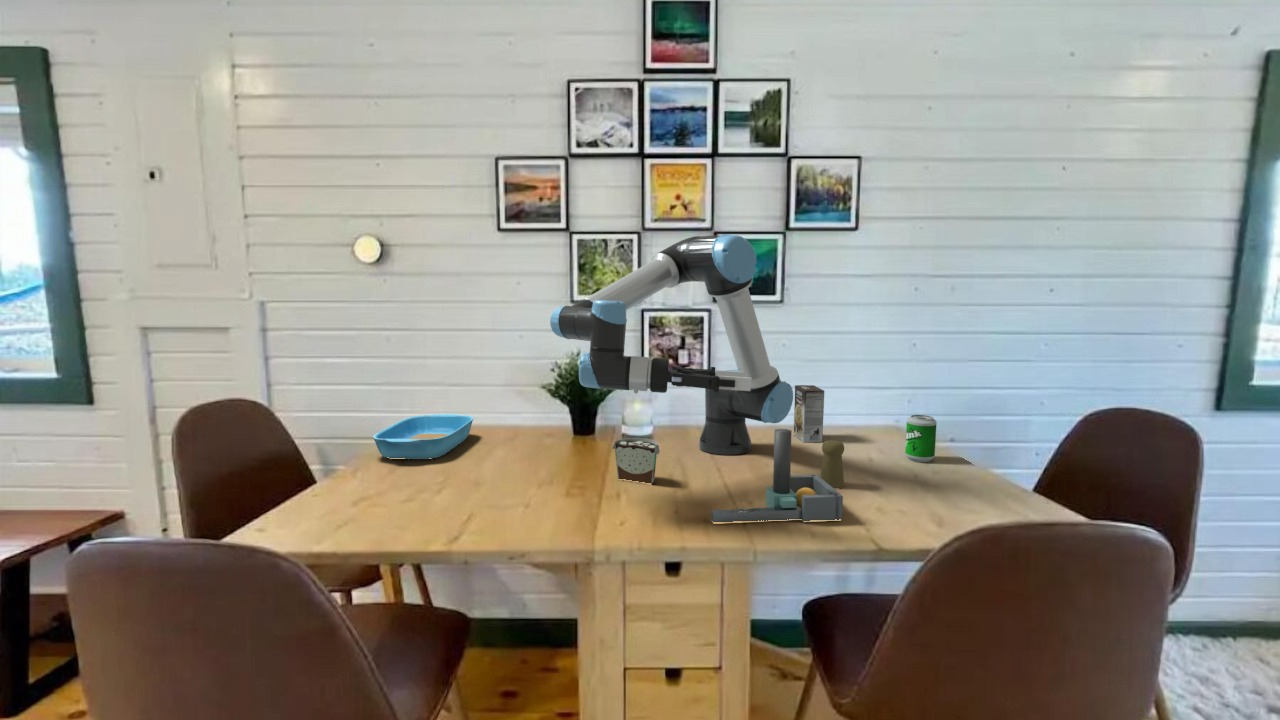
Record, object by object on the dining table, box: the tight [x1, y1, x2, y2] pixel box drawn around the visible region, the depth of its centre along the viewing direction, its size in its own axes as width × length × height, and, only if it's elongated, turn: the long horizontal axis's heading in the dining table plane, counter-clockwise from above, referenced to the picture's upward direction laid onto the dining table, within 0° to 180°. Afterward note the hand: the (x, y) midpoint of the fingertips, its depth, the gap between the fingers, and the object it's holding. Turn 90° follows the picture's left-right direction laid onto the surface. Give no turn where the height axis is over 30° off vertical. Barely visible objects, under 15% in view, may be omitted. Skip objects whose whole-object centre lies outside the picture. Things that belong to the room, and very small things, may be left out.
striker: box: [765, 428, 798, 508], centre depth 147 cm, size 5×8×18 cm, turn 6°
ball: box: [796, 487, 817, 509], centre depth 150 cm, size 5×5×5 cm
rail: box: [710, 506, 802, 522], centre depth 143 cm, size 19×2×2 cm, turn 96°
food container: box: [612, 437, 661, 485], centre depth 171 cm, size 12×6×10 cm, turn 65°
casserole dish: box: [372, 413, 474, 460], centre depth 203 cm, size 37×22×7 cm, turn 176°
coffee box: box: [793, 384, 825, 443], centre depth 210 cm, size 9×6×16 cm
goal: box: [790, 474, 844, 521], centre depth 150 cm, size 8×15×6 cm, turn 6°
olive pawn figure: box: [819, 439, 845, 489], centre depth 166 cm, size 6×6×11 cm
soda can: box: [904, 414, 938, 463], centre depth 187 cm, size 8×8×12 cm
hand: (747, 381), depth 149 cm, fingers open, 13 cm apart
